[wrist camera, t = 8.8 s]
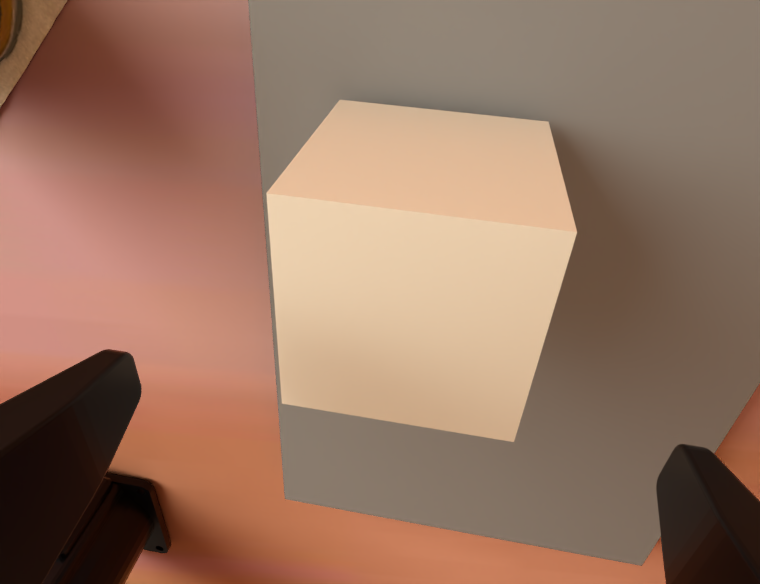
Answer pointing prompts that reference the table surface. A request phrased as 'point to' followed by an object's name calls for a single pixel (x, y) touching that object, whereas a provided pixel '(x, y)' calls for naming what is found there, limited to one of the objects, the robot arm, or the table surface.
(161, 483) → the table surface
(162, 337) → the table surface
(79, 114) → the table surface
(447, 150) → the cream colored cube
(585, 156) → the base plate
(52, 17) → the condiment
